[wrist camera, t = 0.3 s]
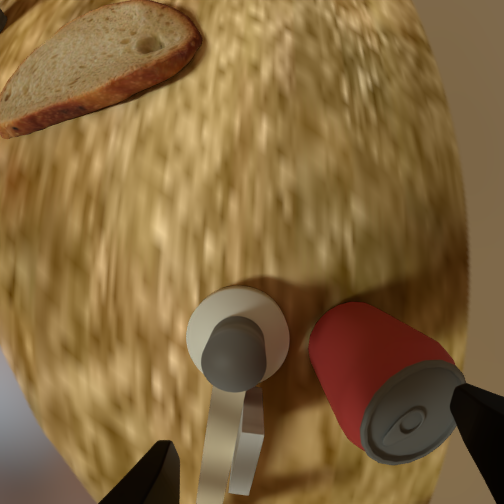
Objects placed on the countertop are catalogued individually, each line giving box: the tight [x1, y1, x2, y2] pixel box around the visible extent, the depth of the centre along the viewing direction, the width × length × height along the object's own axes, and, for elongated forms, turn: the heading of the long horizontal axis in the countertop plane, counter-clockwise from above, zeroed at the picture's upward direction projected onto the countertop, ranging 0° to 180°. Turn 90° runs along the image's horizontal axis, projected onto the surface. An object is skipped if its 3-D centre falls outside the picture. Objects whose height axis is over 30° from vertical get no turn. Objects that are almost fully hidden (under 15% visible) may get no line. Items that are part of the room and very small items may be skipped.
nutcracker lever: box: [196, 316, 267, 504], centre depth 17 cm, size 22×4×9 cm, turn 170°
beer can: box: [308, 302, 466, 465], centre depth 17 cm, size 7×7×12 cm
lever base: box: [186, 285, 290, 383], centre depth 22 cm, size 7×7×2 cm
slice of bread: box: [0, 0, 202, 139], centre depth 21 cm, size 18×18×4 cm
